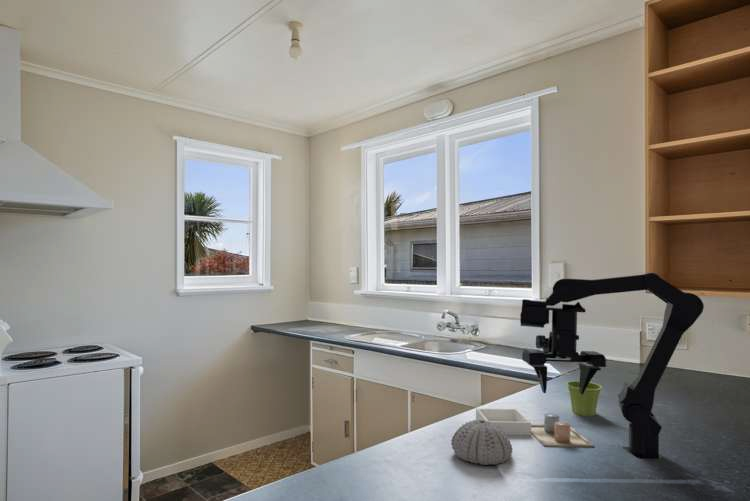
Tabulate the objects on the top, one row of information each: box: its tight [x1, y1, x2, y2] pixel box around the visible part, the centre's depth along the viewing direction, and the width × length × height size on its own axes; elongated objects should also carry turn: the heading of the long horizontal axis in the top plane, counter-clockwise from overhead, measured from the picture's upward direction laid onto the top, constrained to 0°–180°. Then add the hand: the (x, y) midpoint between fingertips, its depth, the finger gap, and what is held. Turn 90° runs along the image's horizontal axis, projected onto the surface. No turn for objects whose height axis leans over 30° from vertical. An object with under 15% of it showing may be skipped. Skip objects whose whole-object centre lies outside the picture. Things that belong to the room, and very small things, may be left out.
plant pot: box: [566, 380, 603, 417], centre depth 137 cm, size 9×9×9 cm
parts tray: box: [531, 423, 595, 448], centre depth 117 cm, size 14×12×1 cm
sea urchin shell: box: [450, 419, 513, 466], centre depth 105 cm, size 13×14×8 cm
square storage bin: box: [475, 407, 532, 436], centre depth 123 cm, size 11×11×4 cm
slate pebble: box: [543, 412, 560, 434], centre depth 121 cm, size 4×4×4 cm
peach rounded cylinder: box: [554, 421, 571, 443], centre depth 114 cm, size 4×4×4 cm
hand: (562, 393), depth 115 cm, fingers open, 9 cm apart
